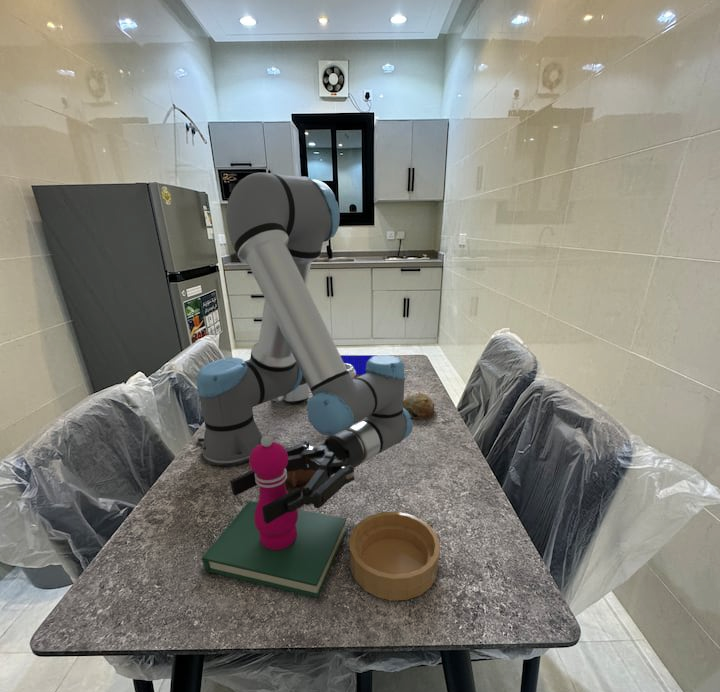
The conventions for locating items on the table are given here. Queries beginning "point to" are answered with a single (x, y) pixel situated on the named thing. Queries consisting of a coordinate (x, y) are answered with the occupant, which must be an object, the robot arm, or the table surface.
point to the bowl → (394, 555)
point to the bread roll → (419, 406)
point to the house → (357, 362)
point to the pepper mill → (272, 493)
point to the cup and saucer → (298, 478)
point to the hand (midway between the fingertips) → (247, 501)
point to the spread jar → (297, 394)
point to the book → (278, 552)
